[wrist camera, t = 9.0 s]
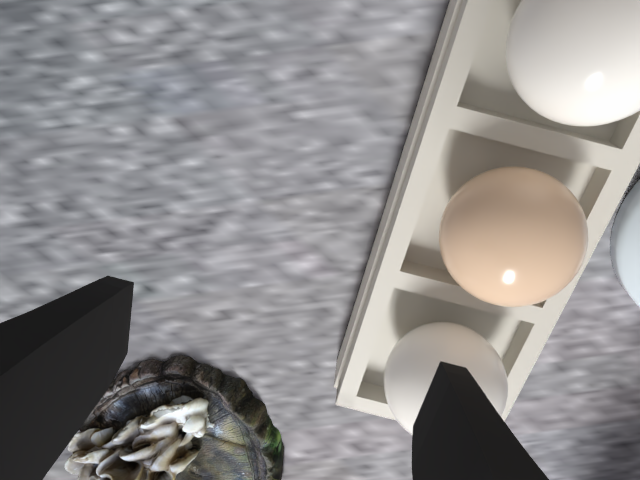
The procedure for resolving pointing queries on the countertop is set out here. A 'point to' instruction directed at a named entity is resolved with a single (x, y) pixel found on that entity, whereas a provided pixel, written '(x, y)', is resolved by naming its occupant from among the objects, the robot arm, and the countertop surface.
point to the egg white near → (576, 59)
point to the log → (177, 428)
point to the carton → (441, 184)
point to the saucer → (627, 244)
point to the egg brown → (513, 236)
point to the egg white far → (423, 360)
